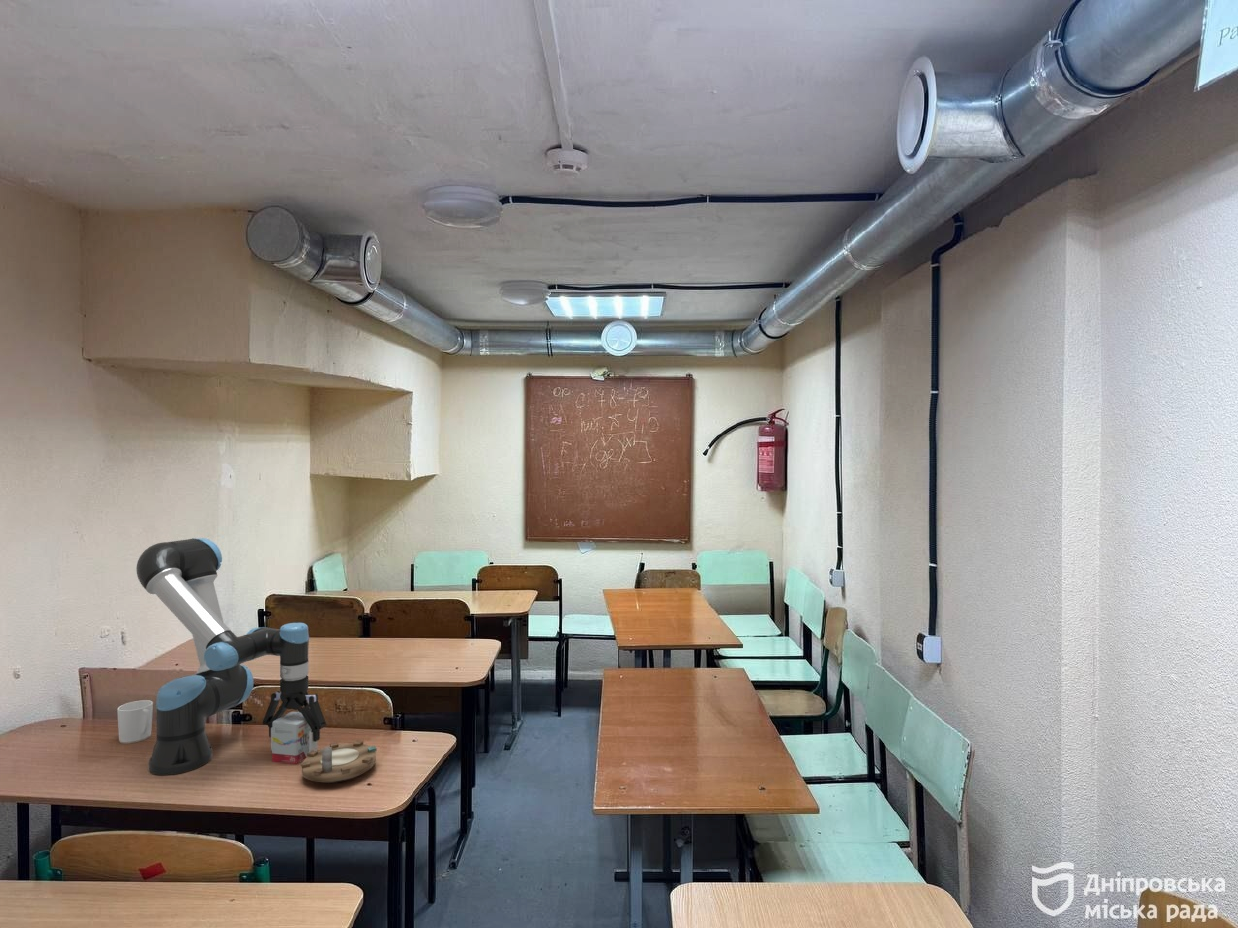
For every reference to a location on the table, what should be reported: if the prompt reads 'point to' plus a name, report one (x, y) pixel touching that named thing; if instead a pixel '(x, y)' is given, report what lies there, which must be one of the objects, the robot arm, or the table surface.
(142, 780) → the table surface
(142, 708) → the mug
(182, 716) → the robot arm
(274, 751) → the ink box
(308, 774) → the turntable
